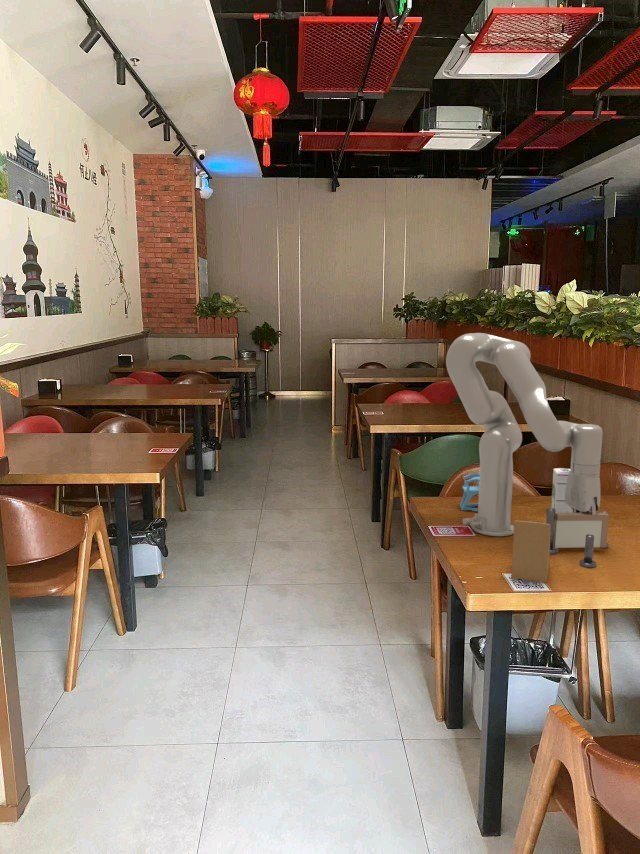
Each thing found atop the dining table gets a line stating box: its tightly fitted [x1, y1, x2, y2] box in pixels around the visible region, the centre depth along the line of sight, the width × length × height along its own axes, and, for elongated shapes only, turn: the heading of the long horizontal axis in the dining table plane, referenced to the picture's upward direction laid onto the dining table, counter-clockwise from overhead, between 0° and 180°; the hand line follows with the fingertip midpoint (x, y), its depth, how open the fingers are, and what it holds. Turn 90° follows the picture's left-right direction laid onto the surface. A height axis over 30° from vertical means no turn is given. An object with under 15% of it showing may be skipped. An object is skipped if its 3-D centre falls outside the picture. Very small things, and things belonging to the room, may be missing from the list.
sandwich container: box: [511, 520, 551, 584], centre depth 165 cm, size 9×15×15 cm, turn 158°
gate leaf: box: [553, 512, 610, 549], centre depth 178 cm, size 14×2×9 cm, turn 92°
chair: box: [459, 472, 480, 512], centre depth 216 cm, size 8×8×12 cm
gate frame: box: [545, 507, 610, 569], centre depth 175 cm, size 21×16×12 cm
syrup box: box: [550, 467, 573, 513], centre depth 211 cm, size 6×6×14 cm
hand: (580, 532), depth 183 cm, fingers closed
